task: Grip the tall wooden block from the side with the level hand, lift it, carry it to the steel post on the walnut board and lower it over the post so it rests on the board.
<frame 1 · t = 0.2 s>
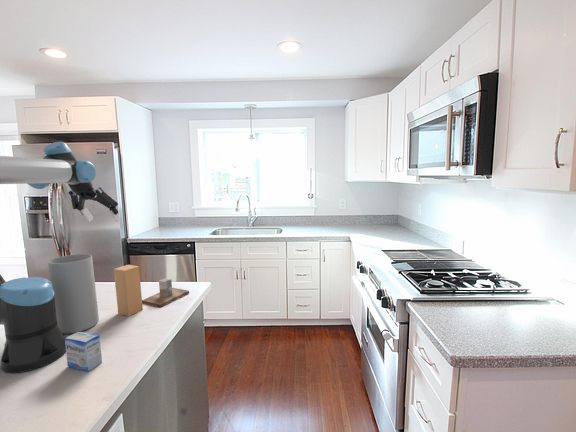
hand: (104, 219, 133), 35 cm above the countertop, tool tilted 35°, fingers open, 13 cm apart
medicine box: (85, 365, 85), on the countertop
cylinder vase: (78, 326, 108), on the countertop
post board: (166, 297, 132), on the countertop
tall wooden block: (130, 311, 119), on the countertop
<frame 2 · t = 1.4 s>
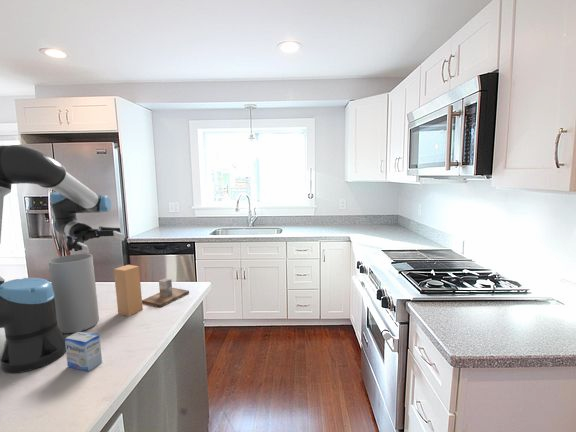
hand: (106, 243, 117), 28 cm above the countertop, tool horizontal, fingers open, 13 cm apart
nothing on the countertop moved.
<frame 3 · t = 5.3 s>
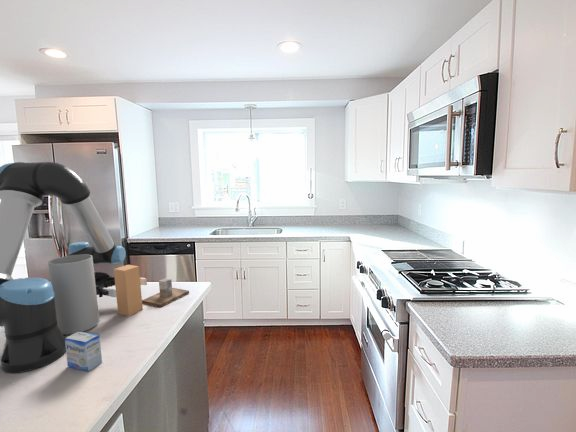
hand: (131, 287, 118), 10 cm above the countertop, tool horizontal, fingers open, 13 cm apart
cylinder vase: (79, 327, 107), on the countertop, touching gripper
everything else where it was.
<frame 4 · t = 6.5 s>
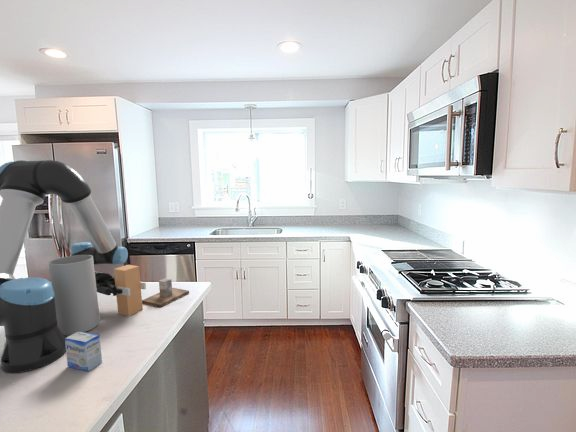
hand: (137, 289, 116), 10 cm above the countertop, tool horizontal, fingers closed on tall wooden block, 6 cm apart
cylinder vase: (79, 327, 107), on the countertop
tall wooden block: (130, 311, 119), on the countertop, touching gripper
everything else where it was.
when the fingers open (13 cm above the countertop, at t = 12.8 s): tall wooden block drops 2 cm, resting on post board.
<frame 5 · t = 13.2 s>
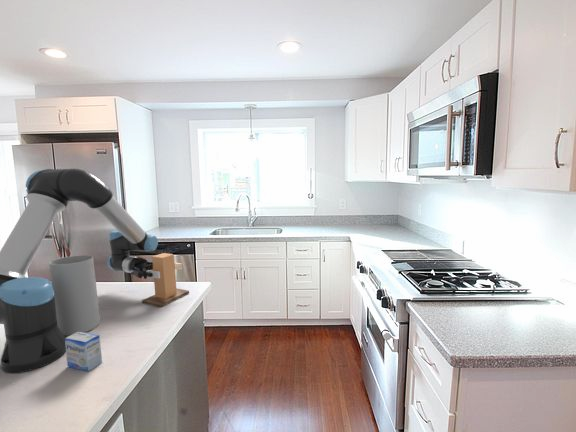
hand: (170, 270, 129), 13 cm above the countertop, tool horizontal, fingers open, 11 cm apart
cylinder vase: (79, 328, 107), on the countertop, touching arm
tall wooden block: (166, 295, 132), point 1 cm above the countertop, touching post board
everything else where it was.
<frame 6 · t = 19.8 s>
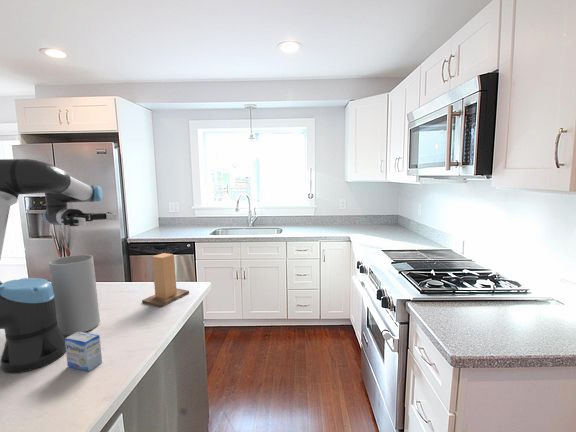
hand: (101, 219, 124), 36 cm above the countertop, tool horizontal, fingers open, 13 cm apart
cylinder vase: (79, 328, 107), on the countertop
everything else where it was.
at the end: tall wooden block 0.3 cm from the post board (horizontally); tall wooden block point 1.2 cm above the countertop; the gripper is holding nothing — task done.
